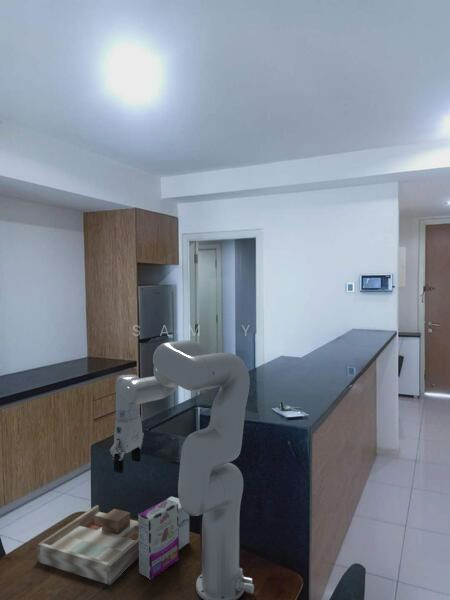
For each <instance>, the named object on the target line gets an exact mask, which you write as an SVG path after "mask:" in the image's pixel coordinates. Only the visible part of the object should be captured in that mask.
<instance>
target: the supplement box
mask: <svg viewBox="0 0 450 600" xmlns="http://www.w3.org/2000/svg"><path fill="white" fill-rule="evenodd" d="M167 499H168V500H170V501H173V502H175V503H178V534H179V550H181V549H182V548H183V547H185V546H186V545H187V544H189V543H190V515H189V514H187V513H186V512H185V511H184V510H183V509H182V507H181V505H180V501H179V497H175V496H169V497H168V498H167Z"/></svg>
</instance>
